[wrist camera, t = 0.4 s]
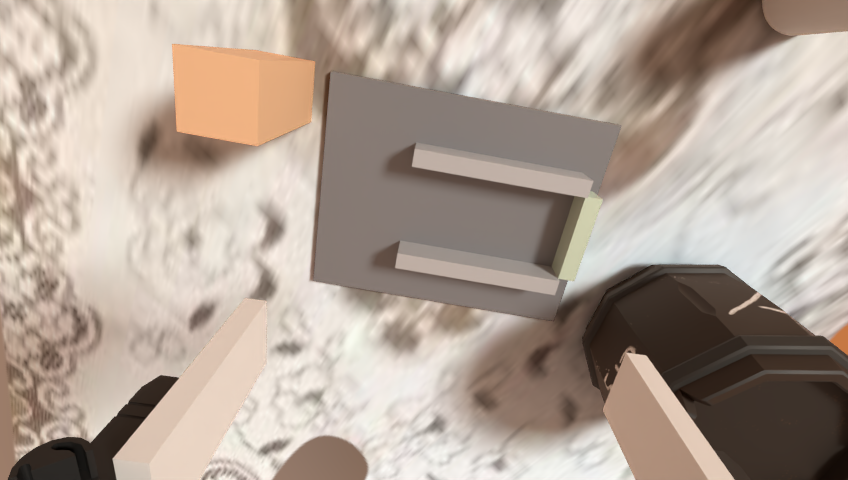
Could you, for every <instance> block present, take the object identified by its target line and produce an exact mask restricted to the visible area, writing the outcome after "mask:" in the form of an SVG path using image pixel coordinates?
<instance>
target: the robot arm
mask: <svg viewBox="0 0 848 480" xmlns="http://www.w3.org/2000/svg"><path fill="white" fill-rule="evenodd" d="M266 359H267V301H262V300H255V299H248V298H245V299H244V300H243V301H242V303H241V304H240V305H239V306H238V307H237V309H236V310H235V311H234V312H233V313H232V315H231V316H230V317H229V318H228V320H227V321H226V322H225V323H224V324H223V326H222V327H221V328H220V329H219V330H218V332H217V333H216V334H215V335H214V337H213V338H212V339H211V340H210V341H209V343H208V344H207V345H206V346H205V347H204V349H203V350H202V351H201V352H200V354H199V355H198V356H197V357H196V358H195V360H194V361H193V362H192V363H191V364H190V366H189V367H188V368H187V369H186V370H185V372H184V373H183V374H182V375H181V377H180V378H177V377H170V376H162V375H160V376H159V377H157V378H155V379H154V380H152V381H151V382H149V383H147V384H146V385H144V386H143V387H141V389H140V390H139V391H138V392H137V393H136V394H135V395H134V396H133V397H132V398H131V399H130V401H129V403H128V404H126V405H125V406H124V407H123V408H122V409H121V410H120V411H119V413H118V415H117V416H116V417H114V418H113V419H112V420H111V421H110V422H109V423H108V425H107V426H106V427H105V428H104V429H103V430H102V431H101V432H100V433H99V434H98V435H97V437H96V438H95V439H94V440H93V441H92V442H91V443H89V442H88V441H86V440H84V439H82V438H76V437H66V438H61V439H56V440H52V441H50V442H47V443H45V444H43V445H40V446H38V447H36V448H35V449H33V450H32V451H30V452H29V453H27V454H26V455H24V456H23V457H22V458H21V459H20V460H19V461H18V462H17V463H16V464H15V465H14V467H13V468H12V470H11V472H10V475H9V477H8V480H200V478H201V476H202V474H203V473H204V471H205V469H206V467H207V466H208V464H209V462H210V460H211V459H212V457H213V455H214V453H215V452H216V450H217V448H218V446H219V445H220V443H221V441H222V439H223V438H224V436H225V434H226V433H227V431H228V429H229V427H230V426H231V424H232V422H233V420H234V419H235V417H236V415H237V413H238V412H239V410H240V408H241V406H242V405H243V403H244V401H245V399H246V398H247V396H248V394H249V393H250V391H251V389H252V387H253V386H254V384H255V382H256V380H257V379H258V377H259V375H260V373H261V372H262V370H263V368H264V366H265V365H266ZM603 412H604V414H605V416H606V418H607V420H608V422H609V424H610V426H611V429H612V431H613V433H614V435H615V437H616V439H617V441H618V443H619V445H620V448H621V450H622V452H623V454H624V456H625V458H626V460H627V462H628V464H629V467H630V469H631V471H632V473H633V475H634V477H635V479H636V480H750V478H749V477H748V476H747V474H746V473H745V472H744V470H743V469H742V468H741V467H740V466H739V465H738V464H737V463H736V462H735V461H734V460H732V459H731V458H730V457H729V456H728V455H727V454H726V453H725V452H723V451H716V450H713V449H712V447H711V446H710V444H709V443H708V441H707V440H706V439H705V437H704V436H703V434H702V433H701V432H700V430H699V429H698V427H697V426H696V425H695V423H694V422H693V420H692V419H691V418H690V416H689V415H688V413H687V412H686V411H685V409H684V408H683V406H682V405H681V404H680V402H679V401H678V399H677V398H676V396H675V395H674V394H673V392H672V391H671V389H670V388H669V387H668V385H667V384H666V382H665V381H664V380H663V378H662V377H661V375H660V374H659V373H658V371H657V370H656V368H655V367H654V366H653V364H652V363H651V361H650V360H649V359H648V357H647V356H646V355H639V354H632V353H626V354H625V356H624V358H623V361H622V363H621V366H620V368H619V371H618V373H617V376H616V378H615V380H614V383H613V385H612V388H611V390H610V393H609V395H608V398H607V400H606V403H605V405H604V407H603Z"/></svg>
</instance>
